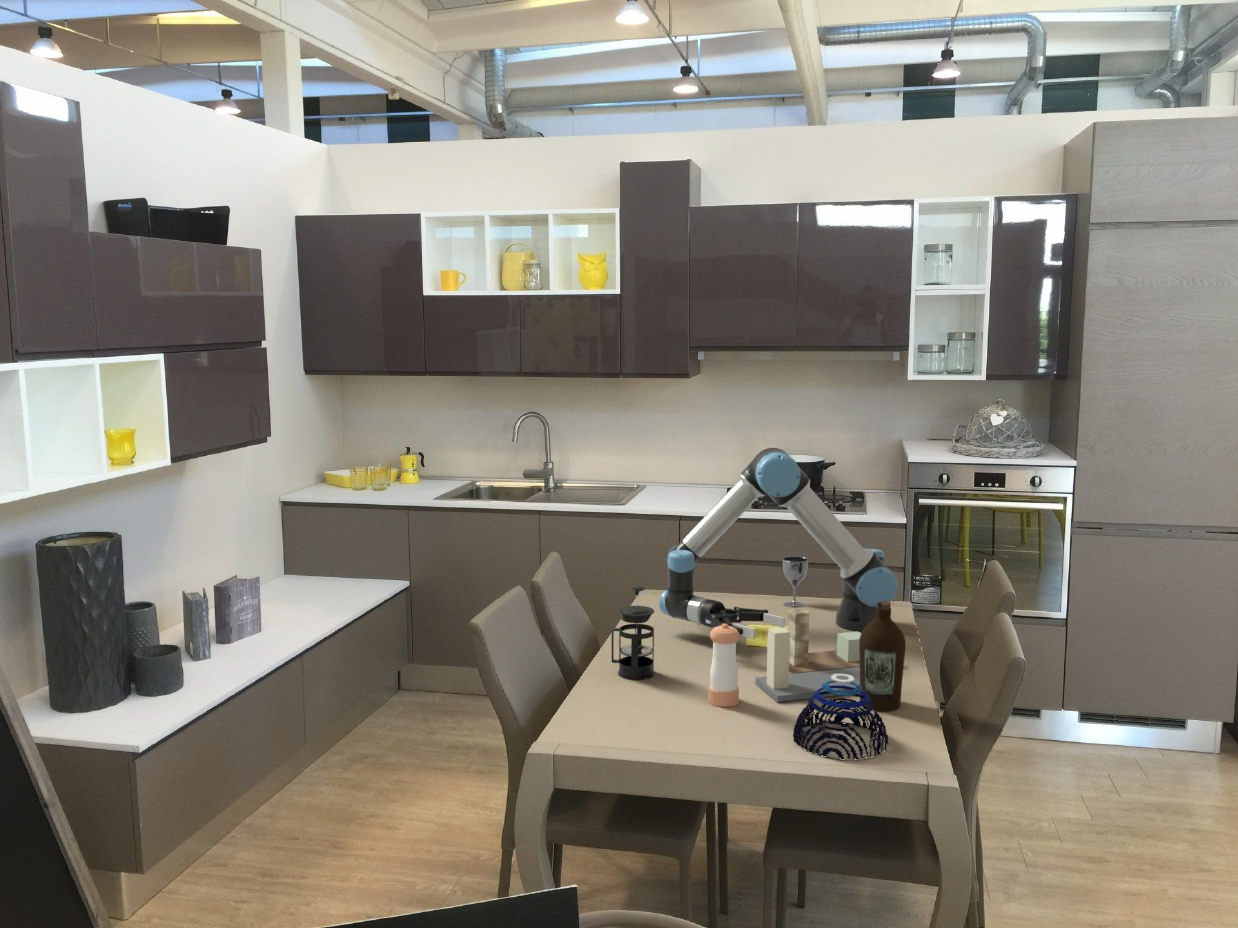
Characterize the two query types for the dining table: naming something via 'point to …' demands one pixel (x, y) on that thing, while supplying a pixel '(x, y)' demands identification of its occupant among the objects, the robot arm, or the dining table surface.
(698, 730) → the dining table surface
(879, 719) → the blue ringed dome
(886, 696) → the olive oil
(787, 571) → the wine glass
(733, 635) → the pepper shaker
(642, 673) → the french press
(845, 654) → the sage block
